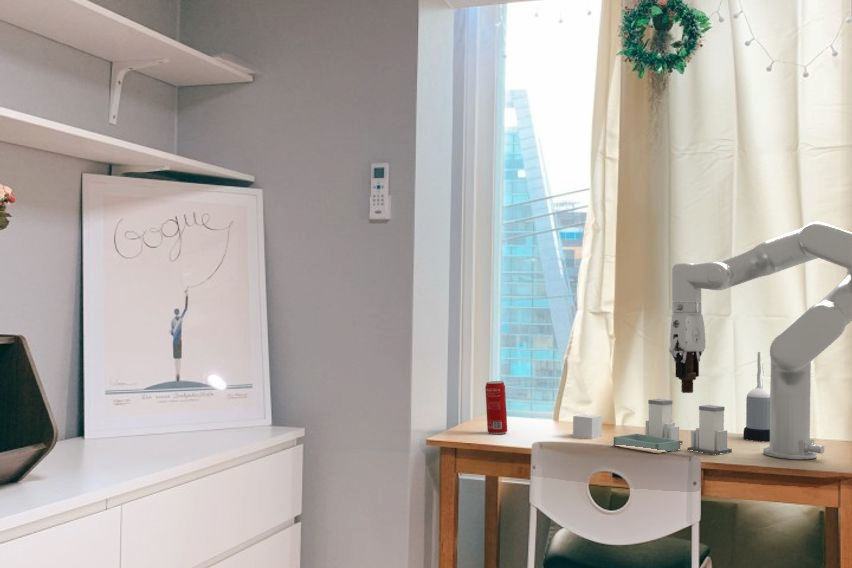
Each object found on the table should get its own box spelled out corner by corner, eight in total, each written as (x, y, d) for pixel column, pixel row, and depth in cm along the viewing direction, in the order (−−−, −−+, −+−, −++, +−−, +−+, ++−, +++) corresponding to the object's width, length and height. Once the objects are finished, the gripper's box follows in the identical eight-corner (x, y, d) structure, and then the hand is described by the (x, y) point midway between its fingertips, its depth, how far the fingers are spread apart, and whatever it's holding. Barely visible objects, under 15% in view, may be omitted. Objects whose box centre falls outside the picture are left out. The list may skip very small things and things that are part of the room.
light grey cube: (601, 436, 251) (602, 415, 251) (591, 439, 246) (592, 418, 246) (583, 434, 254) (583, 413, 254) (572, 436, 250) (573, 415, 250)
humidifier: (760, 436, 255) (761, 350, 256) (780, 440, 247) (780, 352, 248) (737, 437, 253) (738, 351, 253) (756, 442, 245) (757, 352, 245)
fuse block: (731, 452, 228) (732, 406, 228) (714, 455, 223) (714, 408, 223) (658, 439, 246) (658, 398, 246) (640, 442, 241) (640, 399, 241)
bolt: (698, 394, 231) (697, 337, 231) (678, 393, 232) (678, 337, 232) (695, 391, 237) (695, 336, 237) (676, 391, 238) (676, 336, 238)
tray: (680, 450, 230) (680, 440, 230) (657, 454, 223) (657, 444, 223) (636, 442, 240) (636, 433, 240) (613, 446, 234) (613, 436, 234)
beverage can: (510, 434, 252) (511, 382, 252) (490, 435, 250) (491, 382, 250) (501, 431, 257) (502, 380, 258) (481, 432, 255) (482, 380, 255)
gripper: (680, 309, 226) (680, 379, 226) (717, 309, 237) (717, 376, 237) (655, 309, 232) (656, 377, 232) (693, 308, 243) (693, 374, 243)
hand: (687, 376), depth 234 cm, fingers closed on bolt, 4 cm apart
